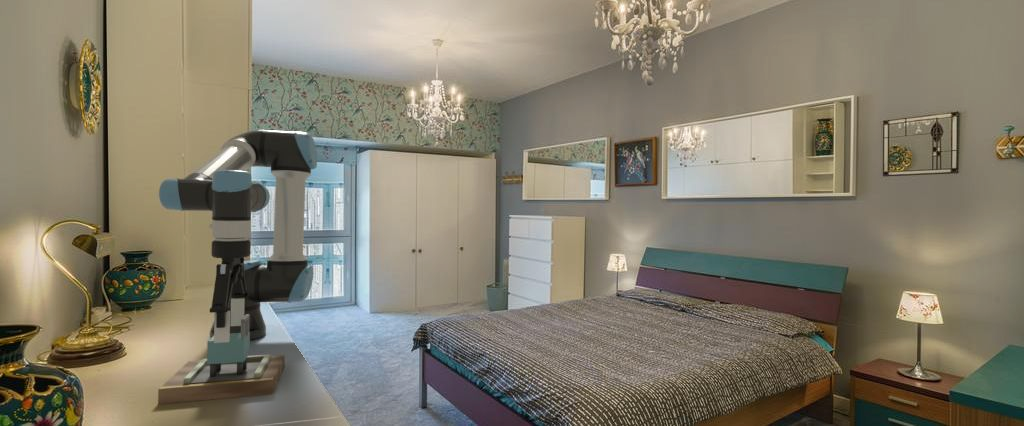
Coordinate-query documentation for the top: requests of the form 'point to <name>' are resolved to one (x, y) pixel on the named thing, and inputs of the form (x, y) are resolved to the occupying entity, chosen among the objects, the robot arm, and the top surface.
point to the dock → (223, 380)
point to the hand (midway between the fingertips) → (230, 333)
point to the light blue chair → (230, 350)
